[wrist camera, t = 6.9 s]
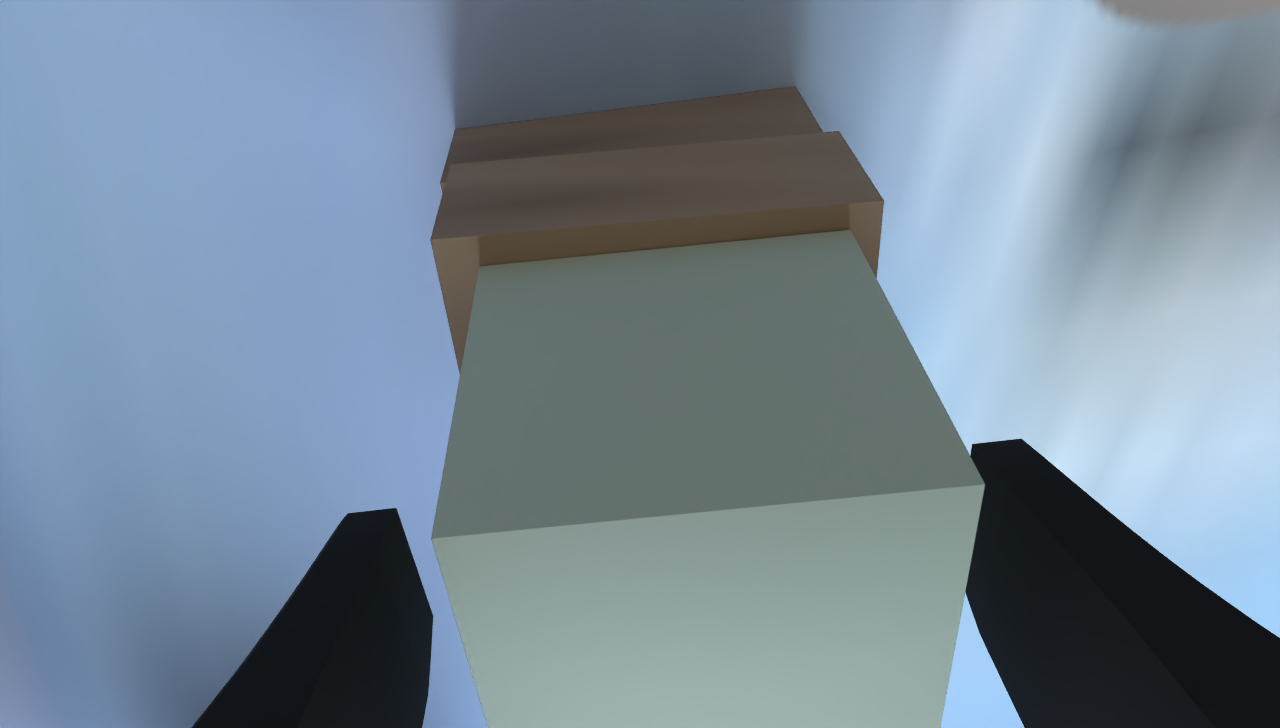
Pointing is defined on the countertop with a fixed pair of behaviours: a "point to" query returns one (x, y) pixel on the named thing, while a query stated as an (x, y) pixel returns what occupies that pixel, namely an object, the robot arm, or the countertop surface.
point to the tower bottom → (638, 127)
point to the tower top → (645, 205)
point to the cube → (703, 494)
